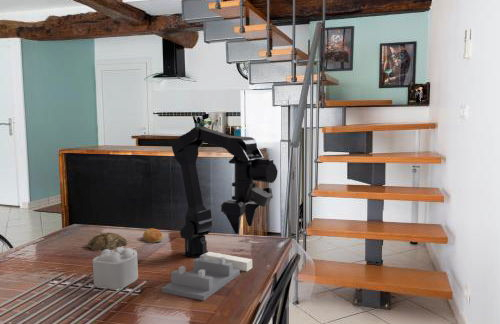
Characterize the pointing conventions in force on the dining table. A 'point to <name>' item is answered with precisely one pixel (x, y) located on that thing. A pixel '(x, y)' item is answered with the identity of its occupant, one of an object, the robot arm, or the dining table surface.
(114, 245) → the mottled brown rock
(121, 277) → the white lego brick
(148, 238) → the pastry
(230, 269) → the grey pegged plate
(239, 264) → the clay strip
